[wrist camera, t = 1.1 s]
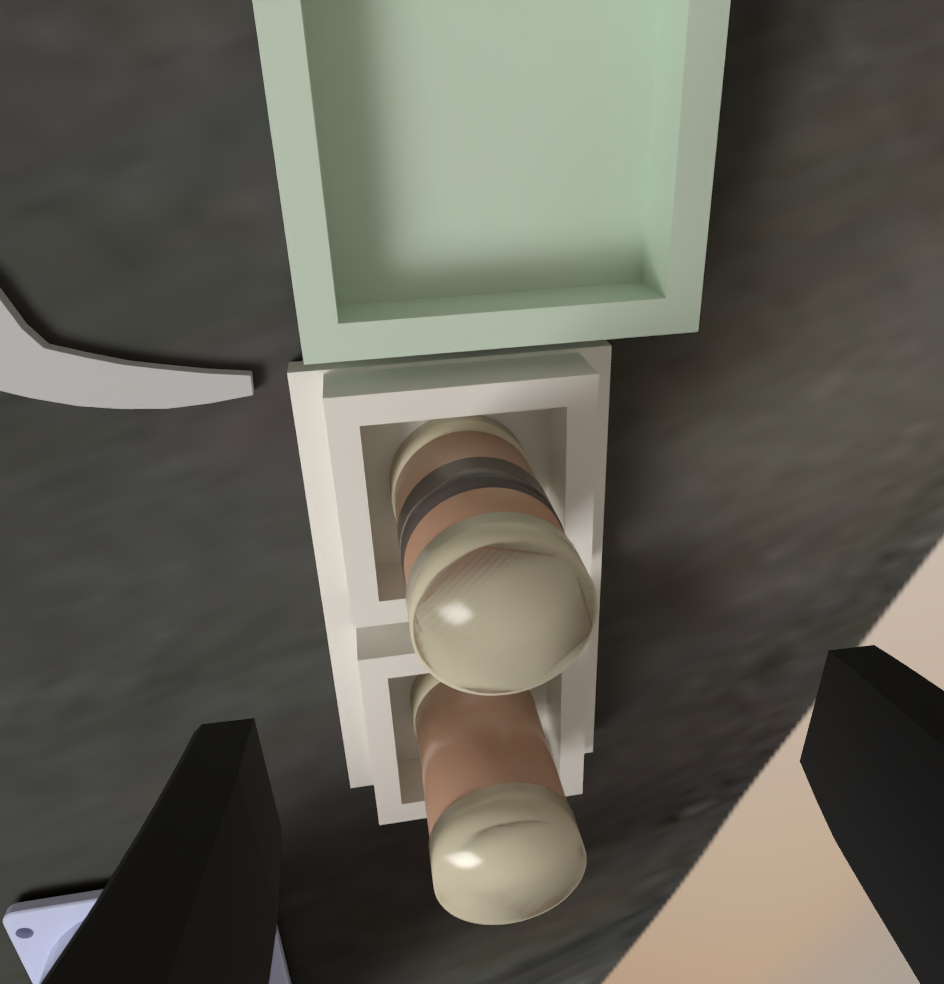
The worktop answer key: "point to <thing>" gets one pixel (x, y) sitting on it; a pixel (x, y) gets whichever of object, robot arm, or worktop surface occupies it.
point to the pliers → (103, 374)
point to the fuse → (493, 805)
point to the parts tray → (492, 168)
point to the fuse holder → (374, 537)
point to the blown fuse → (485, 561)
